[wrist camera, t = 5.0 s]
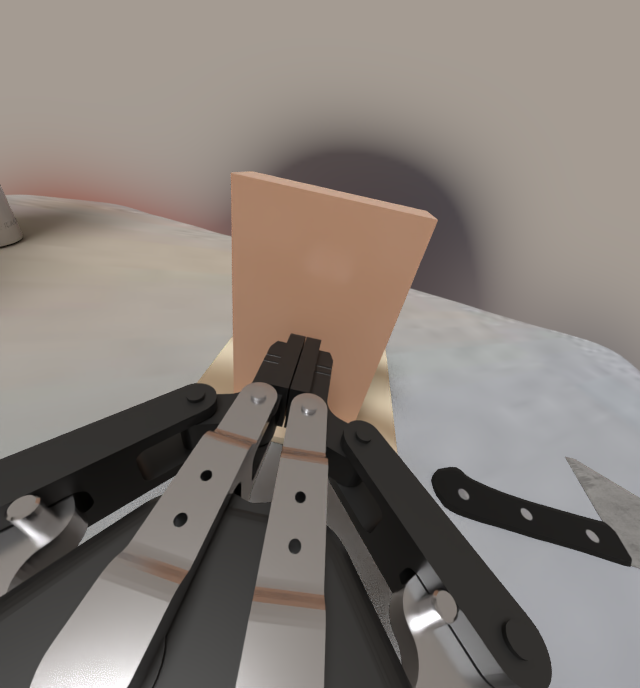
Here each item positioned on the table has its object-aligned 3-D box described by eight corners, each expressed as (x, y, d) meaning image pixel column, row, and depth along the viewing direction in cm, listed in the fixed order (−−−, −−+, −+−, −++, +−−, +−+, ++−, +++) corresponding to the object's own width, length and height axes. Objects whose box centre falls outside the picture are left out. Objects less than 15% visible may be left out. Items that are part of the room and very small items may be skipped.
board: (395, 470, 16) (398, 465, 16) (175, 418, 16) (174, 412, 16) (380, 320, 32) (381, 316, 31) (267, 294, 32) (267, 290, 32)
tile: (351, 430, 17) (437, 219, 10) (233, 402, 17) (231, 172, 10) (352, 402, 19) (425, 210, 12) (247, 377, 20) (253, 170, 12)
